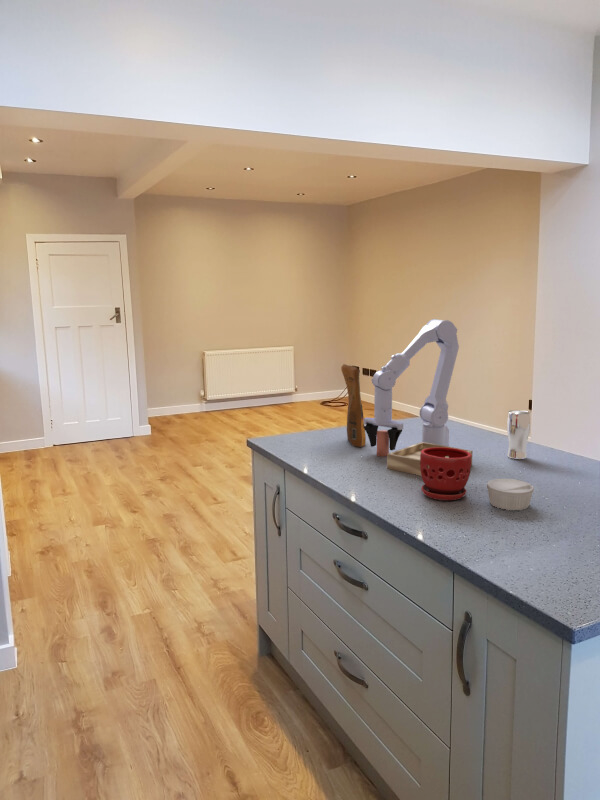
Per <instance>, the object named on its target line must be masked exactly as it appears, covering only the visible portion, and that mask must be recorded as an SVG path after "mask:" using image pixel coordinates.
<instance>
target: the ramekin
mask: <svg viewBox="0 0 600 800" xmlns="http://www.w3.org/2000/svg"><path fill="white" fill-rule="evenodd" d="M486 488H487V493H488V500H489V503H490V505H491V506H492V507H494V506H495V507H494V508H496V507H497V508H496V509H499V508H501V509H500V510H502V509H506V510H505V511H509V510H520V511H523V510H522V509H524V510H526V509H527V508H529V506H530V504H531V501H532V496H533V493H534V490H535V489H534V486H533V485H532V484H531V483H529V482H526V481H524V480H521V479H520V480H519V479H512V478H496V479H491V480H488V482H487V483H486Z"/></svg>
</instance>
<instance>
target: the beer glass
mask: <svg viewBox="0 0 600 800" xmlns="http://www.w3.org/2000/svg"><path fill="white" fill-rule="evenodd" d="M507 414H508V415H507V422H506V430H507V431H506V432H507V439H508V451H507V455H506V457H507V456H508V457H510V458H518V459H522V458H526V457H527V458H528V455H527V454H528V453H527V445H528V441H529V440H528V439H529V435H530V431H531V412H530V411H527V410H520V409H513V410H511V409H510V410H508V413H507ZM508 457H507V458H508ZM510 458H509V459H510Z"/></svg>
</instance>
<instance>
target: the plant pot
mask: <svg viewBox="0 0 600 800" xmlns="http://www.w3.org/2000/svg"><path fill="white" fill-rule="evenodd" d="M456 448H457V447H454V448H447V447H432V448H426V449H423V450H422V451H421V455H420V470H421V476H420V477H421V479H422V482H423V483H424V484H423V485H422V486H421V491H422V493H423V494H424V495H425V496H426V497H428V498H431V499H434V500H436V501H456V500H459V499H462V498H463V497H464V496H466V494H467V489H466V488H465V486H466V485H467V483H468V481H469V478H470V475H471V468H472V465H471V460H472V461H473V454H472V455H471V453H469V452H467V451H465V450H466V449H465V450H461V449H462V448H459V449H456ZM446 456H449V458H445V457H446ZM428 465H429V468H428Z"/></svg>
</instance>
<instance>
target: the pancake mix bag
mask: <svg viewBox="0 0 600 800" xmlns="http://www.w3.org/2000/svg"><path fill="white" fill-rule="evenodd" d="M341 373H342V376H343V378H344V382H345V385H346V389H347V396H348V405H347V412H346V413H347V414H346V415H347V416H346V437H347V440H348V441H350V442H349V443H350V444H351V445H353V446H352V447H355V446H357V447H356V448H362V447H364V446H366V441H367V440H366V438H367V436H366V435H367V434H366V431H365V429H364V426H365V424H364V418H365V417H364V411H363V403H362V398H361V385H360V384H361V383H360V382H361V381H360V373H361V372H360V369H359V368H358V367H357V366H354V365H347V364H345V363H343V364H342V365H341Z"/></svg>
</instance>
